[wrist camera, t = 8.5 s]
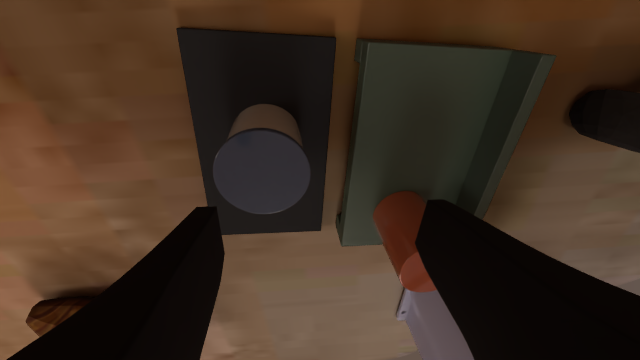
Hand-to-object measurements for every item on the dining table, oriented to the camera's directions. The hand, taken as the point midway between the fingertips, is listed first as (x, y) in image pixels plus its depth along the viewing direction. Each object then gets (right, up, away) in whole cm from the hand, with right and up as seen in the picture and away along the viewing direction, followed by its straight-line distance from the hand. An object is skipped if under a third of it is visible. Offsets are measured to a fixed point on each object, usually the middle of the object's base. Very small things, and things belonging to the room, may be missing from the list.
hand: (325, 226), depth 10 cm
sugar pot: (-4, +4, +8) cm, 10 cm away
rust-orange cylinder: (+6, -1, +10) cm, 12 cm away
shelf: (+6, +4, +11) cm, 13 cm away
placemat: (-4, +4, +9) cm, 11 cm away
